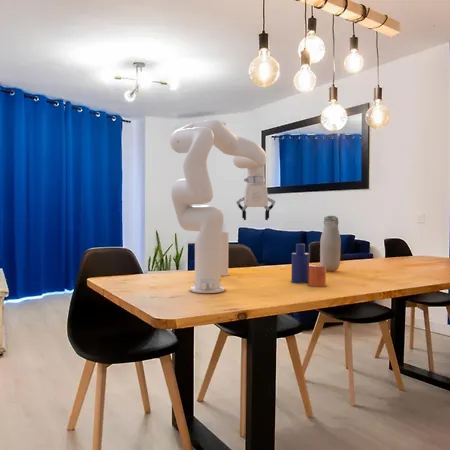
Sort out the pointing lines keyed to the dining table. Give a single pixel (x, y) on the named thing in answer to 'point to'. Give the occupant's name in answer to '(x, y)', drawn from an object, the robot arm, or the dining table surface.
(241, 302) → the dining table surface
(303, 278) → the water bottle
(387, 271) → the dining table surface
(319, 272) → the cup
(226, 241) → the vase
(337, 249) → the grey bottle
